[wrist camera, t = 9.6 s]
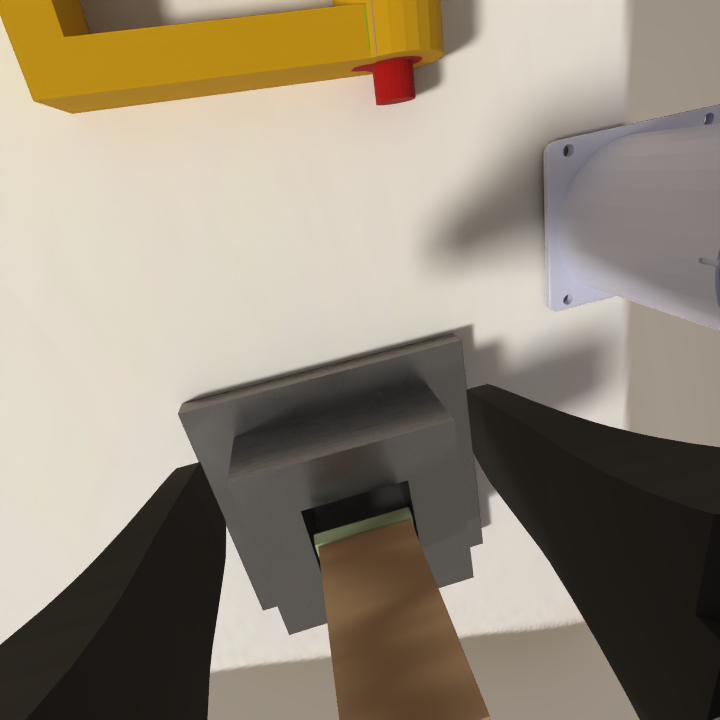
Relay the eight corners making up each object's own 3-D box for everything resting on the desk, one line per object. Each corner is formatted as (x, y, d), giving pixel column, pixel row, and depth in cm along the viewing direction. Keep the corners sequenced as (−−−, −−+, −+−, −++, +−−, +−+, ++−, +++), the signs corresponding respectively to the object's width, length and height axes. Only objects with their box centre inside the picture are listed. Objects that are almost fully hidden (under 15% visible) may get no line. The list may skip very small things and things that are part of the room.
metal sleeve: (453, 333, 22) (500, 373, 18) (476, 531, 28) (516, 601, 24) (181, 403, 21) (156, 466, 17) (263, 596, 27) (261, 682, 22)
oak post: (408, 506, 19) (493, 713, 12) (421, 573, 21) (502, 789, 13) (313, 534, 18) (340, 765, 11) (335, 600, 20) (370, 837, 13)
